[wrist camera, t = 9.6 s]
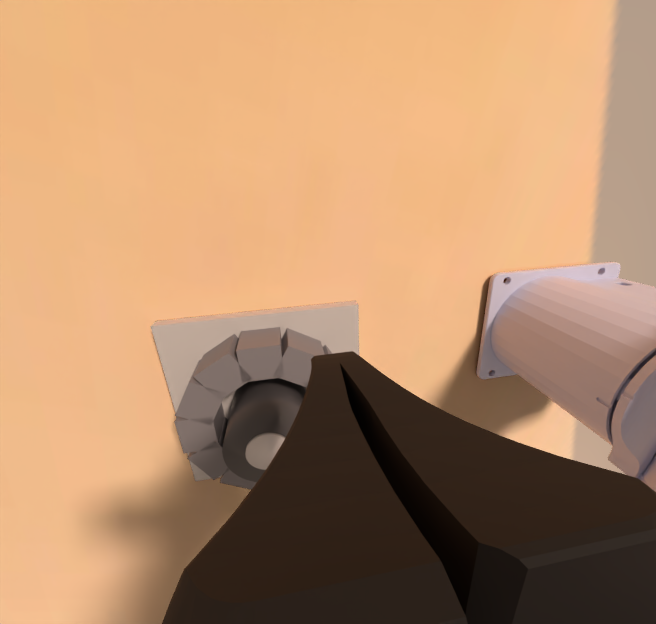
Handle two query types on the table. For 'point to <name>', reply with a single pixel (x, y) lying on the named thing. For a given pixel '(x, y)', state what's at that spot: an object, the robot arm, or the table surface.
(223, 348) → the segmented ring plate
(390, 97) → the table surface
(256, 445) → the grey cylinder
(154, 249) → the table surface
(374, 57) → the table surface
